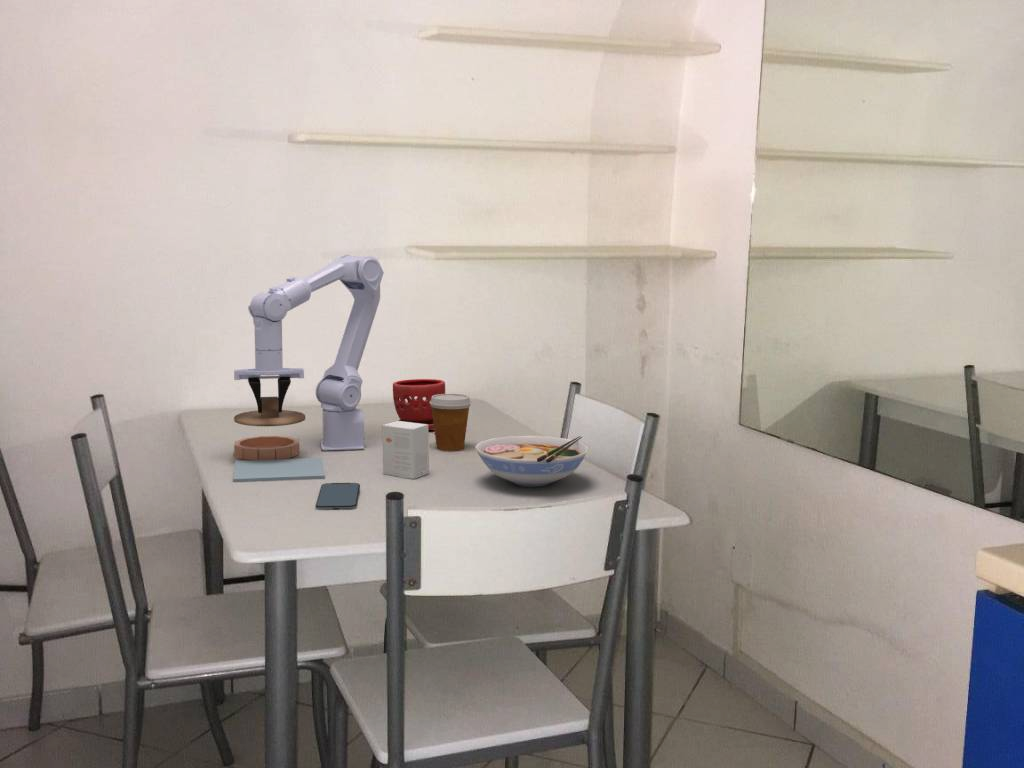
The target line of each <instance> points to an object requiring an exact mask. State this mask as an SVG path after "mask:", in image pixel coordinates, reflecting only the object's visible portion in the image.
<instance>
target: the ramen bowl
mask: <svg viewBox="0 0 1024 768" xmlns="http://www.w3.org/2000/svg"><path fill="white" fill-rule="evenodd" d="M580 439H583V436H579V435H578V436H577V437H575V438H574V439H570V438H563V437H556V436H551V435H549V436H548V435H546V436H544V435H507V436H501V437H500V436H499V437H491V438H489V439H486V440H482V441H479V442H477V444H476V445H475V446H474V447H475V450H476V452H477V454H478V456H479V457H480V459H481V461H482V462H483V463H484V465H485V466H486V467H487V468H488V469H489V471H490V472H491V473H493V474H494V475H496V476H497V477H499V478H501V479H504V480H506V481H510V482H512V483H513V484H514V485H517V486H520V487H526V488H536V487H539V488H540V487H544V486H547V485H549V484H551V483H554V482H556V481H559V480H562V479H564V478H566V477H568V476H570V475H571V474H573V473H574V472H575V471H576V470H577V469H578V468H579V466H580V465H581V464H582V462H583V460H584V458H585V456H586V455H587V453H588V450H589V446H587V445H586V444H585V443H584V442H582V441H581V442H580Z"/></svg>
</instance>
